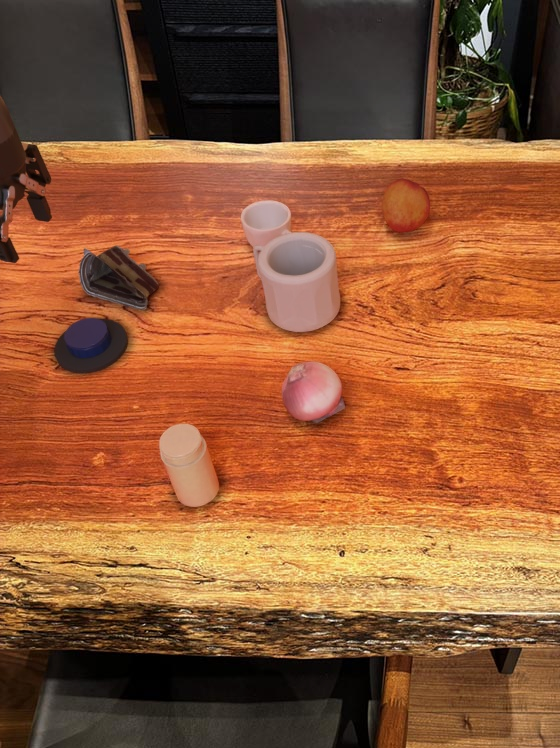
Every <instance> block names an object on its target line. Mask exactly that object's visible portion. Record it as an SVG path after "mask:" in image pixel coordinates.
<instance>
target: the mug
mask: <svg viewBox="0 0 560 748" xmlns="http://www.w3.org/2000/svg"><path fill="white" fill-rule="evenodd" d="M252 253H253V258H254V264H255V268H256V269H255V270H256V273H257V276H258V278H259V279H260V281H261V284H262V288H263V289H262V290H263V294H264V300H265V309H266V312H267V316H268V318H269V319H270V321H271V322H272V323H273V324H274V325H276V326H277V327H279V328H281V329H283V330H285V331H290V332H294V333H295V332H296V333H306V332H312V331H316V330H318V329H322V328H323V327H324V326H326V325H329V323H331V322H332V321H333V320H334V319H335V318H336V317H337V316H338V314H339V311H340V308H341V293H340V288H339V287H340V286H339V275H338V261H337V253H336V250H335V248H334V246H333V244H332V243H331V242H330V241H329V240H328V239H326V238H325V237H324V236H321V235H320V234H316V233H312V232H307V231H295V232H294V231H293V232H292V233H287V234H284V235H281V236H278V237H276V238H274V239H272V240H271V241H269V242H268V243H267V244H266V245H265V246H260V245H256V246H254V247H253V246H252Z"/></svg>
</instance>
